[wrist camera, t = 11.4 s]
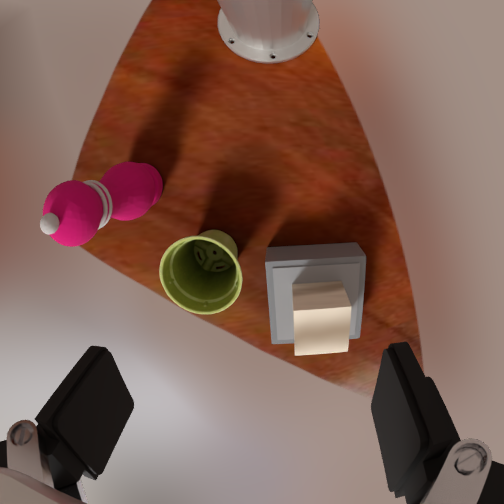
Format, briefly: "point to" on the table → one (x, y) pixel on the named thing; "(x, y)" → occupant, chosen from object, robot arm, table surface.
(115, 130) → the table surface
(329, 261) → the slate stand
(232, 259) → the plant pot
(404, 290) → the table surface
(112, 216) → the pepper mill
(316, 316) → the birch block
